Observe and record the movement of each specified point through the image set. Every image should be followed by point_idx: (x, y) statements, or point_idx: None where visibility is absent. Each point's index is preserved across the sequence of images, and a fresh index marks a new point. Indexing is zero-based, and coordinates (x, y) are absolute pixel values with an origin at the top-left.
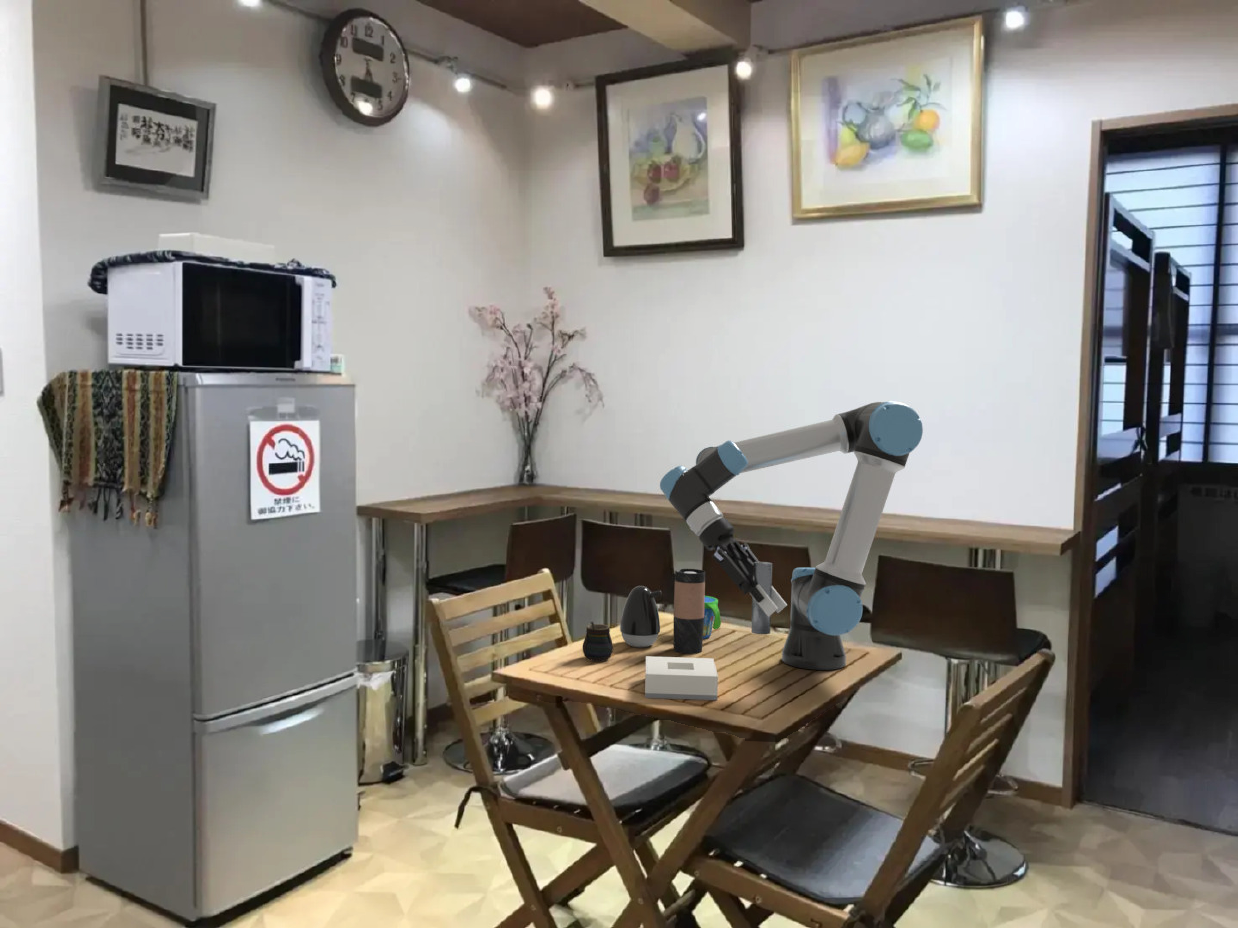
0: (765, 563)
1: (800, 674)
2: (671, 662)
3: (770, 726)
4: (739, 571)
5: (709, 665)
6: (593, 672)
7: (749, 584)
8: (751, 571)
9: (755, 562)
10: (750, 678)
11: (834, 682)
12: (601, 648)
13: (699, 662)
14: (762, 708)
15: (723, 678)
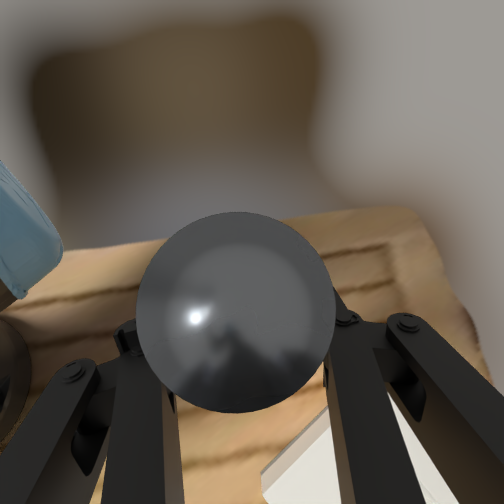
0: (229, 273)
1: (78, 352)
2: None
3: (403, 216)
4: (490, 405)
5: (329, 450)
6: None
7: (379, 330)
8: (173, 482)
9: (253, 391)
10: (181, 416)
11: (95, 272)
12: None
13: (326, 495)
14: (339, 275)
15: (224, 465)
